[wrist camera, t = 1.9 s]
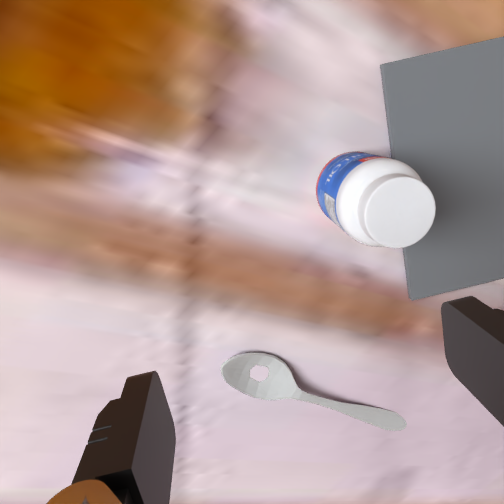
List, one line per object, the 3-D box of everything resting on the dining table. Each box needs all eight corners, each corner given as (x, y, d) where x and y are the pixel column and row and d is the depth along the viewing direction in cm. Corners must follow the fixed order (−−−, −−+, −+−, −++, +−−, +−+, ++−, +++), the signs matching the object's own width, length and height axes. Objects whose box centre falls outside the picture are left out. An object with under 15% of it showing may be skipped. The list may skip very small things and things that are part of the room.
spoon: (231, 335, 36) (232, 345, 35) (439, 413, 40) (448, 425, 39) (211, 377, 37) (211, 388, 36) (416, 450, 41) (425, 463, 40)
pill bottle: (368, 137, 32) (432, 143, 23) (394, 202, 34) (464, 232, 25) (301, 172, 33) (338, 192, 23) (330, 235, 34) (375, 277, 25)
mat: (380, 65, 31) (383, 64, 31) (530, 30, 31) (536, 29, 31) (408, 297, 36) (412, 300, 36) (537, 266, 37) (542, 268, 36)
